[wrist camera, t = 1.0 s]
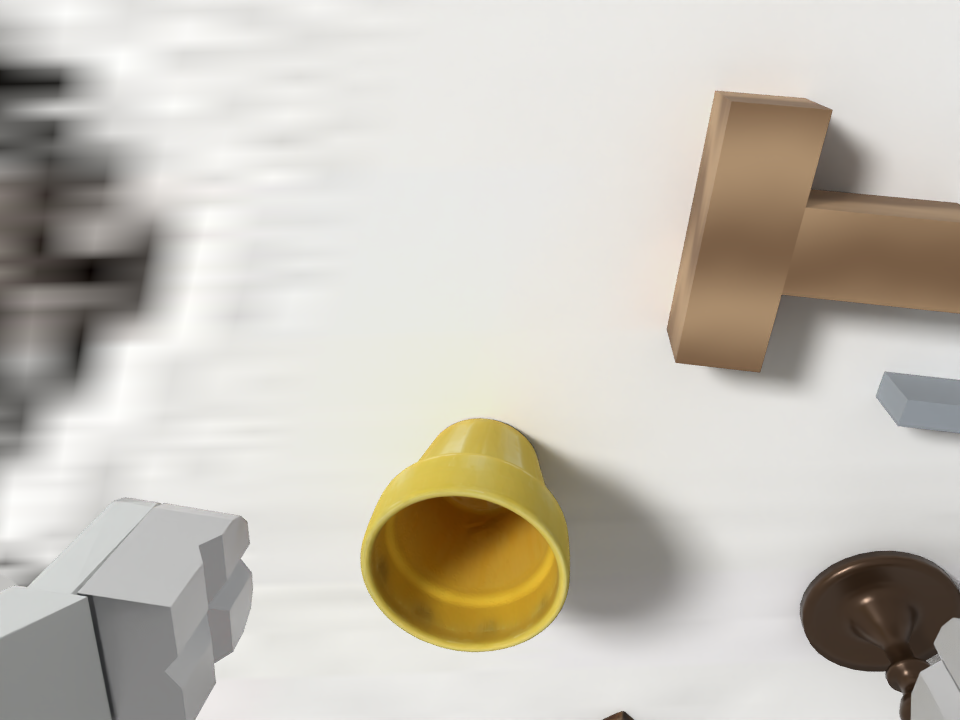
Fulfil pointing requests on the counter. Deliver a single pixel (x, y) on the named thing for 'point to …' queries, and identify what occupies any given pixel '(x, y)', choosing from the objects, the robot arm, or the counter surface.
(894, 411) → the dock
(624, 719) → the clothes iron
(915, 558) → the candlestick
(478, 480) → the plant pot
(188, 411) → the counter surface
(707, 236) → the t block
